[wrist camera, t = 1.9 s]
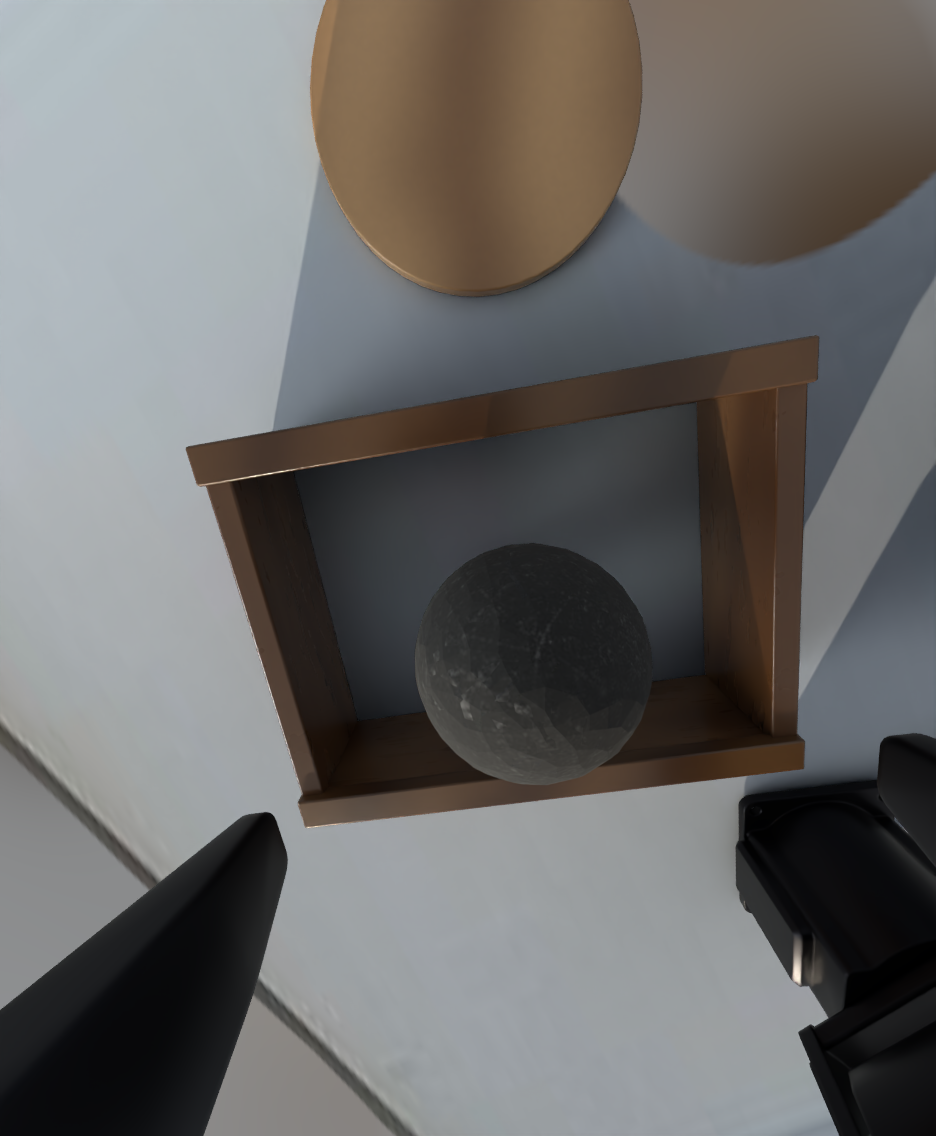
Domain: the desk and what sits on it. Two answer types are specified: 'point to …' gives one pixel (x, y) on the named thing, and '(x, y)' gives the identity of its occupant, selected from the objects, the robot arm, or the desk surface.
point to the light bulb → (533, 664)
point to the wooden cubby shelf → (676, 706)
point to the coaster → (475, 130)
